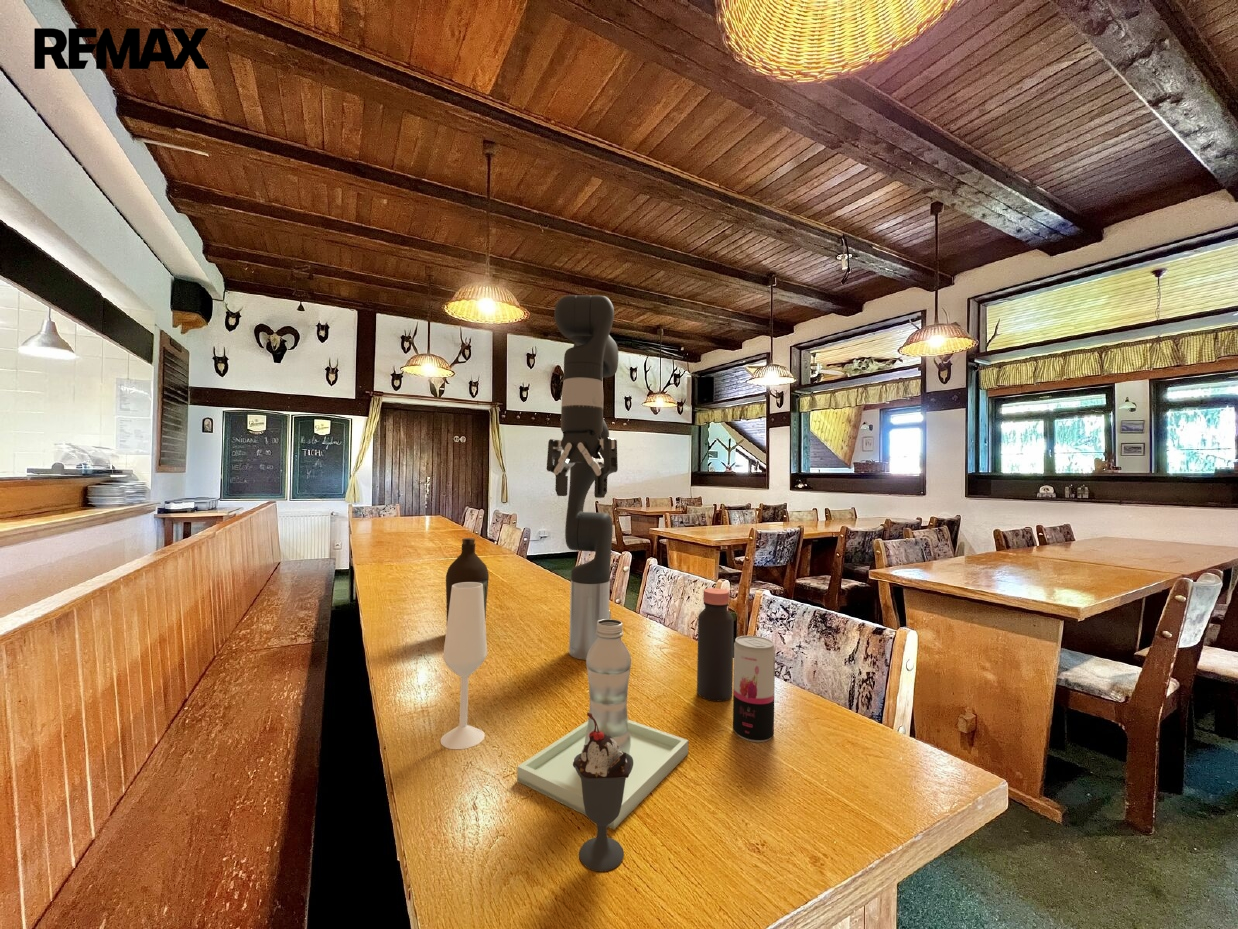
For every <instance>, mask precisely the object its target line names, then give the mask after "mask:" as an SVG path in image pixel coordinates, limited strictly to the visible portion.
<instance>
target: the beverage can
mask: <svg viewBox="0 0 1238 929" xmlns="http://www.w3.org/2000/svg"><path fill="white" fill-rule="evenodd" d="M775 670H776V647H775V643H774V641H773V640H771V639H769V638H766V637H763V636H759V635H741V636H737V637H736V638H735V642H733V687H732V698H733V700H732V730H733V731H734V733H735V734H736V735H737V736H738V737H740V738H741V739H743V740H745V741H748V742H752V743H765V742H767V741H769V740H770V739H772V738H773V737H774V734H775V689H776V688H775V685H776V684H775V681H776V680H775V678H776V677H775V676H776V674H775V673H776V671H775Z"/></svg>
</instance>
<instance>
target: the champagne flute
mask: <svg viewBox="0 0 1238 929" xmlns="http://www.w3.org/2000/svg"><path fill="white" fill-rule="evenodd" d="M444 639H445V640H444V646H443V652H442V653H443V654H442V658H443V661H444V663H445V665H446V666H447V668H448V669H450V671H452V672H453V673H454V674H456V675H457V676H459V677H460V690H459V691H460V694H459V695H460V697H459V699H460V700H459V725H458V726H455V727H454V728H453V729H451V730H449V731H448V732H446V733H444V735H442V736H441V738H440V744H441V746H443V747H444V748H446V749H450V750H465V749H468V748H470V749H471V748H472V747H475V746H477V745H479V744H480V743H481V742H483V740H484V739H485V736H486V735H485V732H484V731H483V730H482V729H481V728H480V729H479V728H477V727H474V726H472V725H471V724H468V707H469V705H468V703H469V702H468V701H469V677H470V676H471V675H472V674H474V673H475V672H476V671H477V670H478V669H479V668H480V667H481V666H482V665H483V663H484V662H485V660H486V658H487V656H488V645H487V642H488V641H487V627H486V619H485V611H484V595H483V584H482V583H478V582H462V583H456V584H453V585H452V590H451V597H450V605H449V613H448V621H447V620H446V630H445V638H444Z"/></svg>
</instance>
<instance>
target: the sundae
mask: <svg viewBox="0 0 1238 929" xmlns="http://www.w3.org/2000/svg"><path fill="white" fill-rule="evenodd" d="M586 716H587V717H588V718H589V717H590V718H591V717H592V713H589V712H587V714H586ZM591 719H592V720H593V721H594V724H595V729H594V731H592V732H591V733H590V734H589V738H590V741H589V742H587V743H586V745H584V748H583V750H582V753H581V754H579V755H577V756H576V757H575V758H574V762H573V767H574V768H575V769H576V771H577V773H578V775H579V776H580V778H581V783H582V794H583V803H584V808H585V813H586V815H587V816H586V815H585V816H586V817H587V818H588V819H589V820H590V822H592V823H593V824H594V825H596V836H595V837H592V838H589V839H588V840H586V841H585V842H584V843H583V844H581V846H580V849H579V852H578V856H579V857H578V858H579V860H580V861H581V863H582V865H584V866H585V867H586V868H587V869H589V870H592V871H595V872H608V871H612V870H614V869H616V868H617V867H618V866H620V864H621V863H622V862H623V859H624V856H625V853H624V852H625V851H624V848H623V847H622V844H620V842H618V840H615V839H613V838H611V837H608V826H607V825H608V824H610V823H612V822H613V821H614V820H615V819H616V818H617V817H618V816H619V813H620V809H621V805H622V801H623V794H624V787H625V780H626V778H628V777H629V774H630V773H631V770H632V768H633V758H632V757H631V756H630V755H629V754H627V753H625V752H623V751H621V750H619V746H618V745H617V743H616V741H615V740H614V739H612V738H611V737H610V736H607V735H604V734H603V732H601V731H600V732H599V729H598V725H597V722H596V720H595V719H594V718H593V717H592V718H591ZM596 726H597V731H598V732H597V731H596Z"/></svg>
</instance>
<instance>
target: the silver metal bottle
mask: <svg viewBox="0 0 1238 929" xmlns="http://www.w3.org/2000/svg"><path fill="white" fill-rule="evenodd" d="M623 624H624V623H623V621H621V620H619V619H614V618H613V619H612V618H611V619H603V620H599V621H598V622H597V631H596V636H597V637H598V639H597V640H596V641H595V643H594V644H593V645H592V647H591V648H590V650H589V651H588V654H587V657H586V660H585V662H586V672H587V680H588V692H589V695H588V696H589V710H588V713H592V717H593V718H594V719H595V720H596V722H597V725H598V729H599V732H600V731H601V732H603V734H604V735H607V736H610V737H611V738H612V739H614V740H615V741H616V743H617V745H618V746H619V750H621V751H623V752H625V753H627V754H629V755H630V749H631V739H630V733H629V728H628V720H629V718H628V692H629V681H630V673H631V669H632V668H631V667H632V655H631V654H630V651H629V649H628V647H627V646H626V644H625V643H624V641H623V640H622V638H623V636H624V631H623ZM592 717H591V718H592ZM591 718H590V717H589V716H588V720H587V721H588V728H587V732H586V737H585V745H586V743H587V742H589V741H590V738H589V734H590V733H591V732H592V731H594V729H595V724H594V721H593V720H592V719H591ZM596 731H597V726H596ZM597 732H598V731H597Z"/></svg>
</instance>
